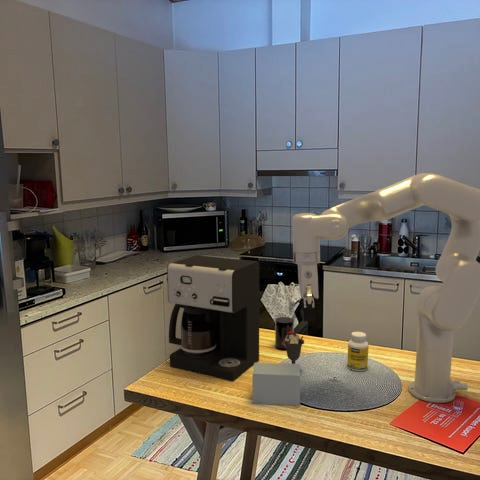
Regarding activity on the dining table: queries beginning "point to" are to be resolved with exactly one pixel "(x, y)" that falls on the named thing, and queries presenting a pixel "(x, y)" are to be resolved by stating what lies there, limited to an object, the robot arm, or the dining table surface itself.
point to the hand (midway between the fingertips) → (308, 315)
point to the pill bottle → (357, 352)
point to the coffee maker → (215, 315)
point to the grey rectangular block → (276, 384)
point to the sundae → (293, 345)
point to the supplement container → (282, 331)
